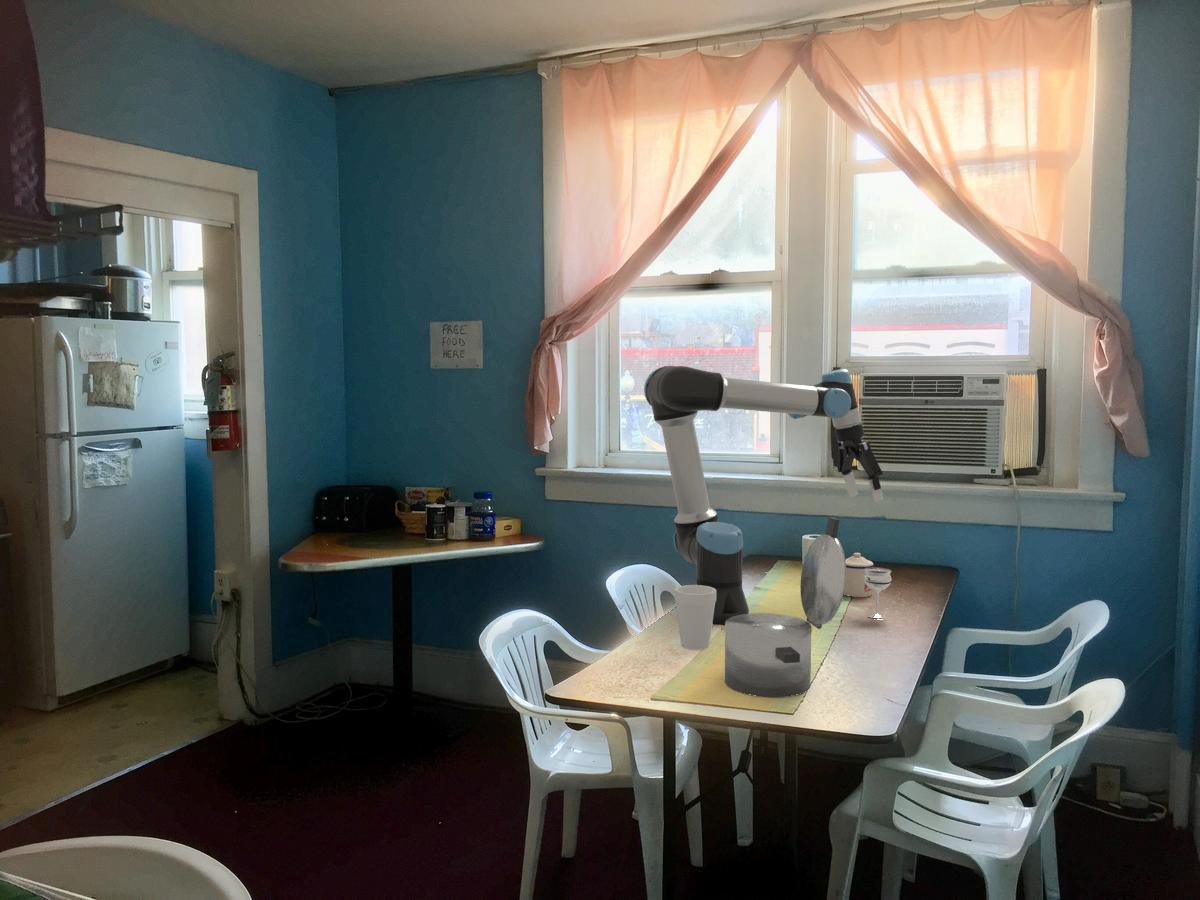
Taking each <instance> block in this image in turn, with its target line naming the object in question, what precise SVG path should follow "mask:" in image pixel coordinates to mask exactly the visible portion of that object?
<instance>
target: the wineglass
mask: <svg viewBox="0 0 1200 900" xmlns="http://www.w3.org/2000/svg"><path fill="white" fill-rule="evenodd" d="M864 570H865V572H866V573H865V575H864V581H865V584H866V585H867V586H868V587H869V588H871V589H872V591H873V592H874V593H875V613H870V614H867V615H868V616H870V617H873V618H884V617H885V616H886V615H884V614H881V613H879V612H878V611H879V596H880V593H881V591H883V590H886V589H887V588H888V587H889V586H890V585H891V584H892V576H891V573H892V570H891V569H889V568H884V567H883V568H882V567H873V568H866V569H864Z"/></svg>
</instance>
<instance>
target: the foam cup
mask: <svg viewBox="0 0 1200 900" xmlns="http://www.w3.org/2000/svg"><path fill="white" fill-rule="evenodd" d="M674 600H675V606H676V613H677V622H678V629H679V631H678V632H679V638H680V645H681V647H682V648H684V649H686V650H695V651H697V650H698V651H700V650H706V649H708V648H709V647H710V643H711V641H710V640H711V636H712V629H713V623H712V622H713V615H714V608H715V602H716V589H715V588H712V587H709V586H702V585H696V584H690V585H689V584H688V585H687V584H686V585H681V586H680V585H679V586H677V587H675V588H674Z"/></svg>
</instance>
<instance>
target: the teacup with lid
mask: <svg viewBox="0 0 1200 900" xmlns="http://www.w3.org/2000/svg"><path fill="white" fill-rule="evenodd" d="M861 555H862V554H861V553H860V552H854V553H853V555H852V556H850V557H848V558H845V561H846V582H845V589H844V594H845V595H849V596H852V597H851V598H868V596H869V597H871V596H872V595H873V589H871V588H869V587H868V586H867V585H866V584H865V581H864V575H865V573H866V572H865V570H864V569H866V568H874V566H875V565H874V562H872V561H871V560H868V559H866V558H865V557H864V556H861ZM845 595H844V596H845ZM849 596H848V597H849Z"/></svg>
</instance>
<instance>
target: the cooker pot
mask: <svg viewBox="0 0 1200 900" xmlns="http://www.w3.org/2000/svg"><path fill="white" fill-rule="evenodd" d="M724 625H725V627H724V683H725V685H726V686H727V687H728V688H729V689H731V690H733V691H734V692H735V691H736V692H737V693H740V692H741V693H740V694H744V693H745V694H744V695H748V694H751V695H750V696H753V695H756V696H755V697H759V696H762V698H763V697H764V698H788V697H787V696H789V697H792V696H791V695H795V696H797V695H796V694H799V695H801V694H800V693H802V694H804V693H806V692H808V691H809V690H810V689H811V675H812V674H811V672H812V671H811V668H812V624H810V623H809V622H807V620H805V619H803V618H799V617H796V616H792V615H789V614H788V615H786V614H778V613H767V612H765V613H764V612H761V613H760V612H759V613H756V612H755V613H749V614H742V615H737V616H733V617H731V618H729V619H727V620H726V622H725V624H724ZM808 689H809V690H808ZM807 690H808V691H807ZM805 691H806V692H805ZM803 692H804V693H803ZM785 696H786V697H785Z"/></svg>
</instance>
